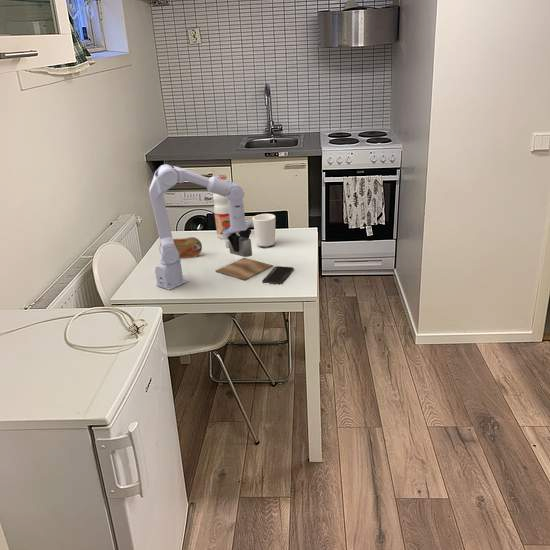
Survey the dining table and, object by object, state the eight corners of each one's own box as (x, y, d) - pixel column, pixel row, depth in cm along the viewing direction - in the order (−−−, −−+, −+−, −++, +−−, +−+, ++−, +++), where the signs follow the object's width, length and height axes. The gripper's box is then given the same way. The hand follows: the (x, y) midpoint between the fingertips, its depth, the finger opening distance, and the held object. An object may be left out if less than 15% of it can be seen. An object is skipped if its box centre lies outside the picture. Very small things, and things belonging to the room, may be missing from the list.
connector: (247, 257, 214) (245, 242, 211) (225, 252, 221) (223, 237, 219) (254, 254, 216) (252, 239, 214) (232, 248, 224) (230, 234, 222)
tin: (167, 259, 238) (164, 240, 235) (168, 257, 241) (165, 238, 238) (202, 256, 238) (200, 238, 235) (203, 254, 241) (201, 235, 238)
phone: (261, 281, 208) (275, 266, 220) (261, 284, 208) (275, 268, 221) (281, 283, 205) (294, 267, 218) (281, 285, 205) (295, 270, 218)
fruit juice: (227, 231, 267) (220, 173, 256) (241, 234, 261) (235, 174, 250) (213, 237, 260) (205, 177, 249) (227, 241, 254) (220, 179, 244)
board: (244, 280, 211) (244, 279, 211) (215, 272, 221) (215, 270, 221) (273, 266, 222) (273, 265, 222) (244, 259, 232) (243, 257, 232)
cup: (261, 240, 252) (259, 213, 247) (281, 242, 247) (279, 214, 242) (250, 248, 243) (248, 219, 239) (271, 250, 239) (268, 221, 234)
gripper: (230, 222, 205) (234, 257, 210) (257, 211, 215) (260, 245, 220) (217, 219, 209) (221, 254, 215) (244, 209, 219) (247, 242, 224)
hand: (240, 249), depth 218 cm, fingers closed on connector, 4 cm apart
